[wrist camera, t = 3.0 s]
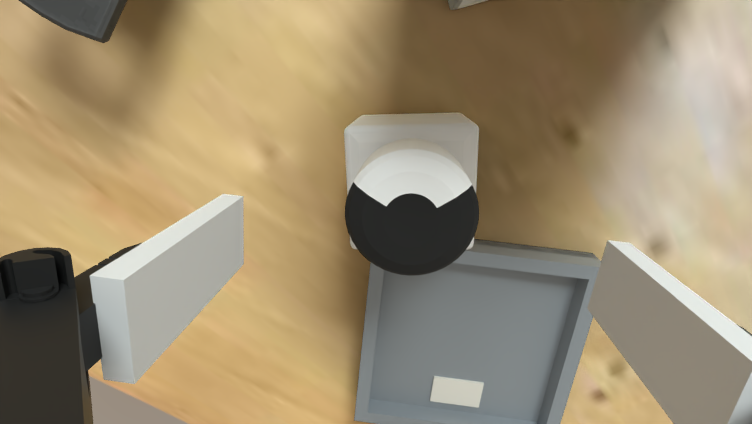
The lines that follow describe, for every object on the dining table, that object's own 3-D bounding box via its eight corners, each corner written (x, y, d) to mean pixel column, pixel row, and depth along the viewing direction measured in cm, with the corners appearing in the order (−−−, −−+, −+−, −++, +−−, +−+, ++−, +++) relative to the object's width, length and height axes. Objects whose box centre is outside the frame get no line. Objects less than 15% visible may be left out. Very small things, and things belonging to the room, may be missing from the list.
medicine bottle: (460, 212, 30) (490, 294, 19) (362, 212, 31) (335, 293, 19) (463, 111, 28) (499, 136, 17) (358, 114, 29) (324, 140, 17)
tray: (358, 397, 36) (354, 420, 34) (375, 227, 31) (372, 239, 29) (543, 423, 35) (552, 448, 33) (592, 253, 30) (608, 268, 28)
